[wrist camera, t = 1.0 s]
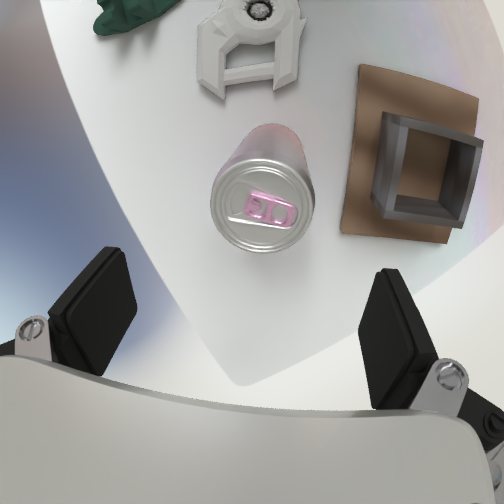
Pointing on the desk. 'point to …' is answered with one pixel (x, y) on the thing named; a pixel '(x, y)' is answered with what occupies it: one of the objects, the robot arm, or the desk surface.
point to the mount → (128, 14)
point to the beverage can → (264, 192)
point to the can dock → (410, 158)
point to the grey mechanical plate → (249, 32)
